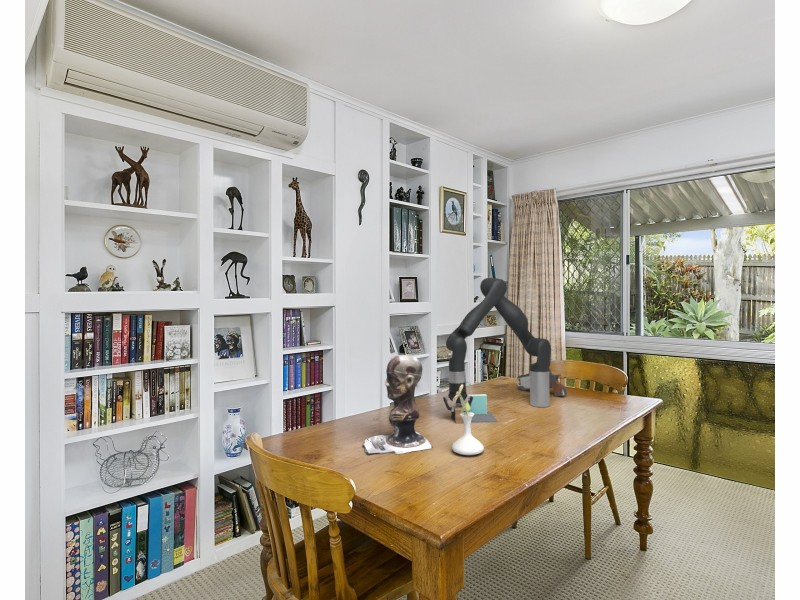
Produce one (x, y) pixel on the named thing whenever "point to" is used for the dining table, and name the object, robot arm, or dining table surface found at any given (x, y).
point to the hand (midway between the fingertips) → (458, 419)
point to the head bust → (401, 409)
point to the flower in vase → (466, 432)
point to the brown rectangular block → (458, 414)
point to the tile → (478, 404)
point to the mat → (484, 418)
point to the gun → (553, 383)
